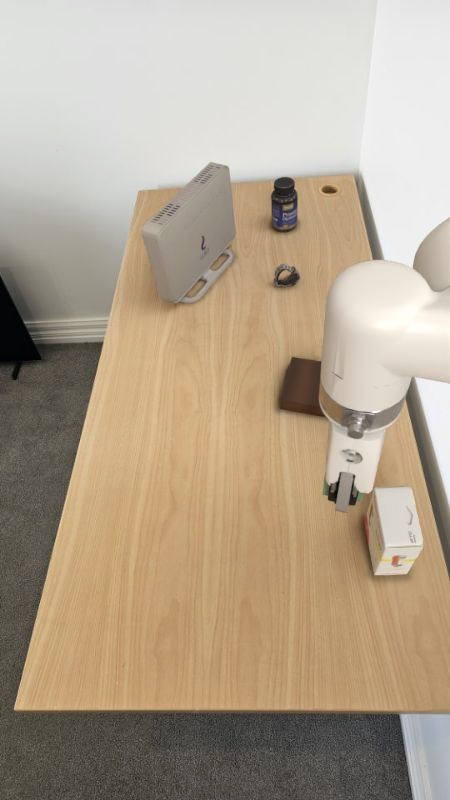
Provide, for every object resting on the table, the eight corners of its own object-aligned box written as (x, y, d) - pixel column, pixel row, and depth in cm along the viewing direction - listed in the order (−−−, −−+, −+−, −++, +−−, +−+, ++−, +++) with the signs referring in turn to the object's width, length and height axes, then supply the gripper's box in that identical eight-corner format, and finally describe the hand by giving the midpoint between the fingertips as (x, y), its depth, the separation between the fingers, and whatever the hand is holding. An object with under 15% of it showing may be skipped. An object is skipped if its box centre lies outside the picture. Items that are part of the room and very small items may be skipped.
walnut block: (355, 376, 92) (357, 366, 90) (347, 421, 87) (349, 411, 84) (291, 366, 95) (291, 356, 93) (279, 409, 90) (279, 399, 87)
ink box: (362, 519, 76) (372, 484, 67) (395, 517, 76) (410, 483, 66) (372, 576, 71) (384, 548, 62) (408, 575, 71) (426, 546, 61)
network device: (184, 316, 106) (166, 236, 90) (152, 303, 109) (128, 225, 93) (245, 246, 118) (238, 164, 102) (214, 236, 121) (202, 156, 105)
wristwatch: (287, 292, 109) (302, 276, 106) (269, 281, 107) (284, 264, 104) (285, 284, 111) (300, 268, 108) (267, 273, 109) (282, 256, 106)
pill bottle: (284, 236, 118) (284, 193, 109) (266, 226, 121) (264, 183, 112) (302, 223, 120) (303, 181, 111) (284, 214, 123) (283, 171, 114)
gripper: (397, 481, 39) (369, 556, 54) (411, 327, 49) (384, 427, 63) (303, 463, 41) (300, 541, 56) (333, 318, 50) (324, 418, 65)
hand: (344, 480), depth 59 cm, fingers closed on green cube, 4 cm apart
